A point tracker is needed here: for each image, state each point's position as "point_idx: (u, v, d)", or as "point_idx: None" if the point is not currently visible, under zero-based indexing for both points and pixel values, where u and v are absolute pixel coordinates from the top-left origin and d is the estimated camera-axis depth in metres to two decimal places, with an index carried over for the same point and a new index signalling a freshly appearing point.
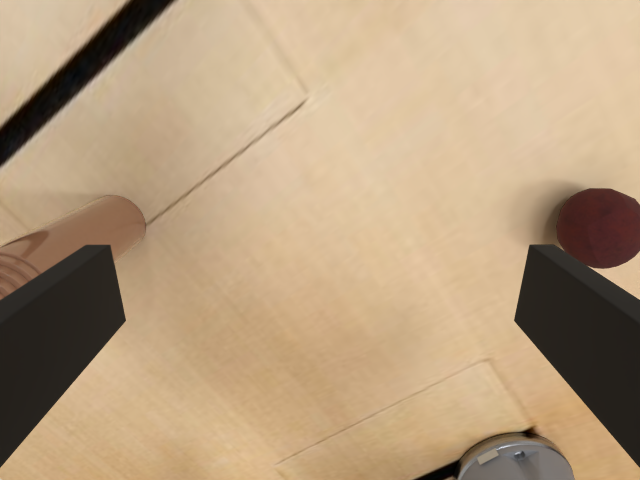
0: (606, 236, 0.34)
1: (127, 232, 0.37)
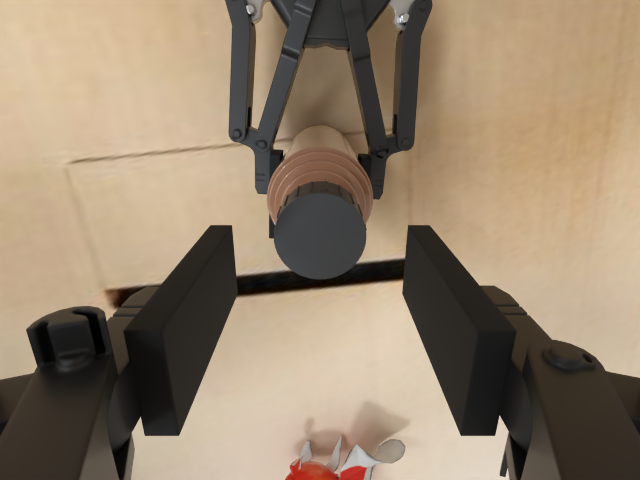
0: None
1: None
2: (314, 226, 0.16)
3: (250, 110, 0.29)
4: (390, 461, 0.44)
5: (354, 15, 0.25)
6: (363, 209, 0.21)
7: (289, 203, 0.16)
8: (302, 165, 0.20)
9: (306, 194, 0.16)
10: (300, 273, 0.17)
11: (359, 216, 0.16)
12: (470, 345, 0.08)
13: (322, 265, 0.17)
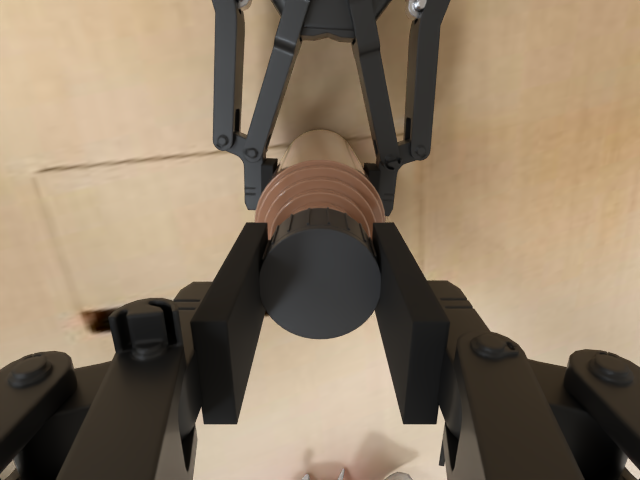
0: None
1: None
2: (312, 272, 0.12)
3: (239, 113, 0.25)
4: None
5: None
6: None
7: (278, 242, 0.12)
8: (297, 184, 0.16)
9: (301, 230, 0.12)
10: (294, 332, 0.13)
11: (373, 259, 0.12)
12: (409, 336, 0.08)
13: (323, 321, 0.13)
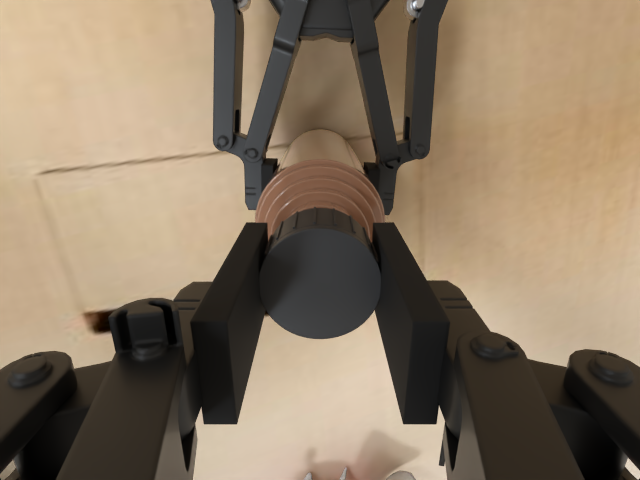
0: None
1: None
2: (306, 297, 0.12)
3: (238, 113, 0.25)
4: None
5: None
6: None
7: (289, 329, 0.13)
8: (297, 183, 0.16)
9: (270, 315, 0.13)
10: (377, 295, 0.12)
11: (273, 250, 0.12)
12: (409, 336, 0.08)
13: (357, 273, 0.12)
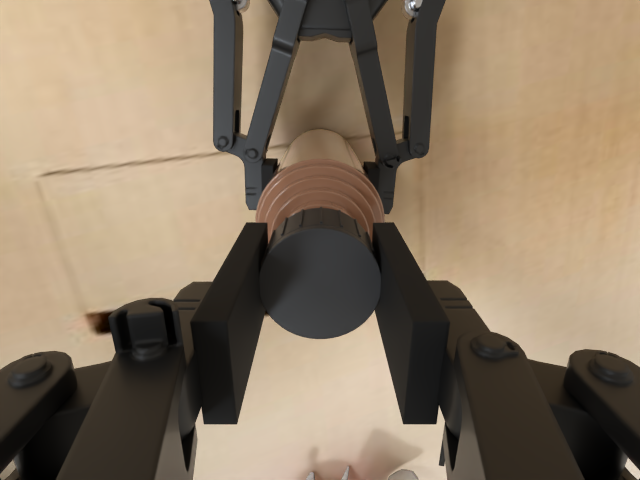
0: None
1: None
2: (335, 295, 0.12)
3: (238, 114, 0.25)
4: None
5: None
6: None
7: (378, 298, 0.12)
8: (297, 183, 0.16)
9: (366, 318, 0.13)
10: (311, 232, 0.12)
11: (296, 334, 0.13)
12: (409, 336, 0.08)
13: (293, 258, 0.12)
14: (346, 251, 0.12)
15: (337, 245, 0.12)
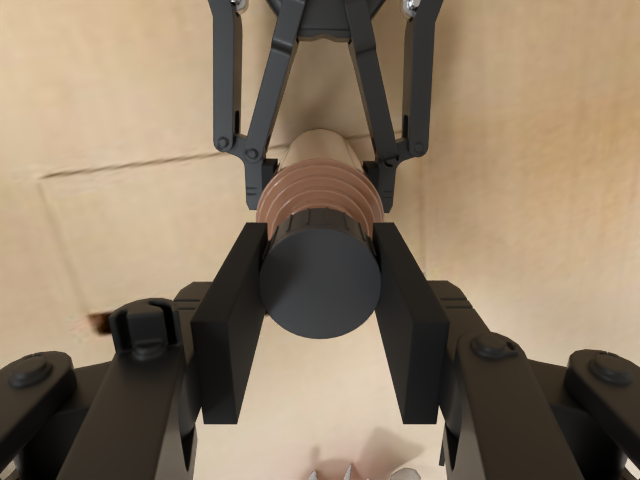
0: None
1: None
2: (324, 271, 0.12)
3: (238, 114, 0.26)
4: None
5: None
6: None
7: (316, 227, 0.12)
8: (297, 182, 0.16)
9: (342, 231, 0.12)
10: (268, 309, 0.12)
11: (379, 293, 0.12)
12: (408, 336, 0.08)
13: (299, 316, 0.13)
14: (275, 275, 0.12)
15: (272, 284, 0.12)
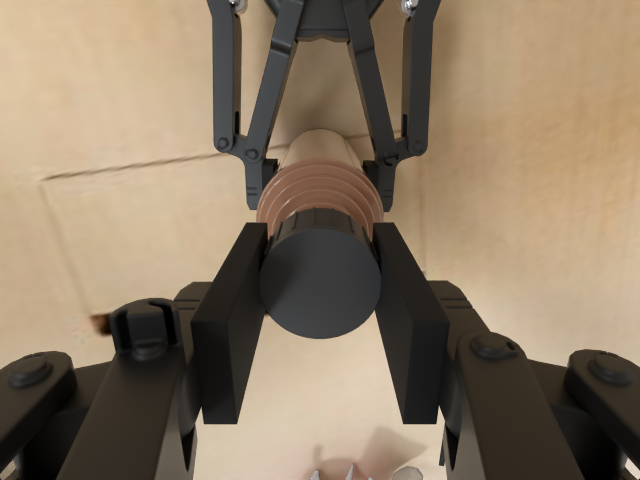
0: None
1: None
2: (302, 288, 0.12)
3: (238, 115, 0.26)
4: None
5: None
6: None
7: (264, 304, 0.13)
8: (296, 182, 0.16)
9: None
10: (359, 323, 0.13)
11: (307, 231, 0.12)
12: (408, 336, 0.08)
13: (358, 295, 0.12)
14: (321, 326, 0.13)
15: (331, 326, 0.13)
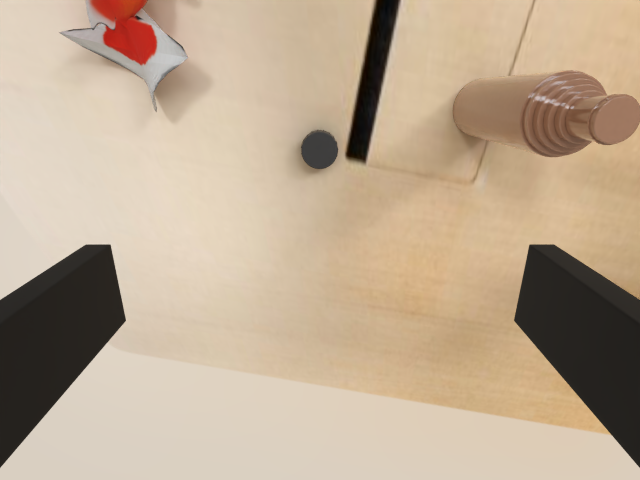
0: None
1: None
2: (314, 151, 0.42)
3: None
4: (151, 91, 0.38)
5: None
6: (555, 148, 0.28)
7: (303, 157, 0.42)
8: None
9: None
10: (331, 163, 0.42)
11: (316, 133, 0.41)
12: None
13: (330, 153, 0.42)
14: (320, 164, 0.42)
15: (323, 164, 0.42)
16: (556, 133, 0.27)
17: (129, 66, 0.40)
